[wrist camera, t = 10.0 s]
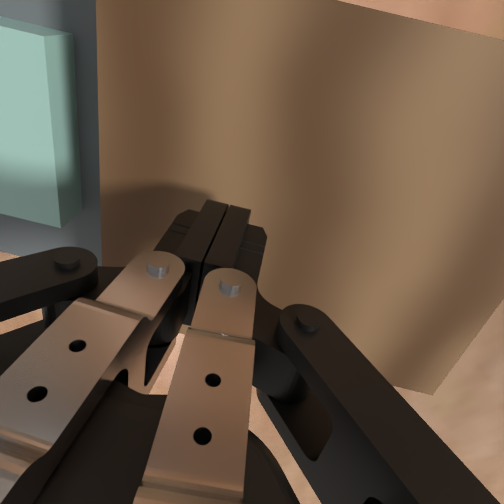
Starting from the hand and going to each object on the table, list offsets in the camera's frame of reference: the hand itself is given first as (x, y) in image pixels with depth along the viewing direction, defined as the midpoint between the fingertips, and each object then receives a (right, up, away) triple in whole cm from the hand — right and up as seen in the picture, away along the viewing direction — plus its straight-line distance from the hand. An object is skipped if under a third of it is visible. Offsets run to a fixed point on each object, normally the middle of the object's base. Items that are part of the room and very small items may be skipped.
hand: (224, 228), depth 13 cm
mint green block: (-10, +4, +3) cm, 11 cm away
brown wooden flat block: (+4, +2, +5) cm, 6 cm away
